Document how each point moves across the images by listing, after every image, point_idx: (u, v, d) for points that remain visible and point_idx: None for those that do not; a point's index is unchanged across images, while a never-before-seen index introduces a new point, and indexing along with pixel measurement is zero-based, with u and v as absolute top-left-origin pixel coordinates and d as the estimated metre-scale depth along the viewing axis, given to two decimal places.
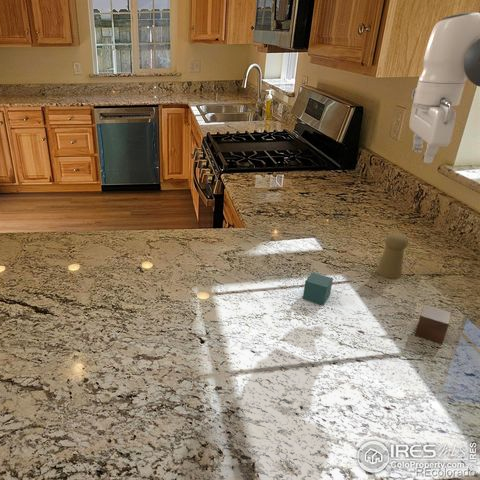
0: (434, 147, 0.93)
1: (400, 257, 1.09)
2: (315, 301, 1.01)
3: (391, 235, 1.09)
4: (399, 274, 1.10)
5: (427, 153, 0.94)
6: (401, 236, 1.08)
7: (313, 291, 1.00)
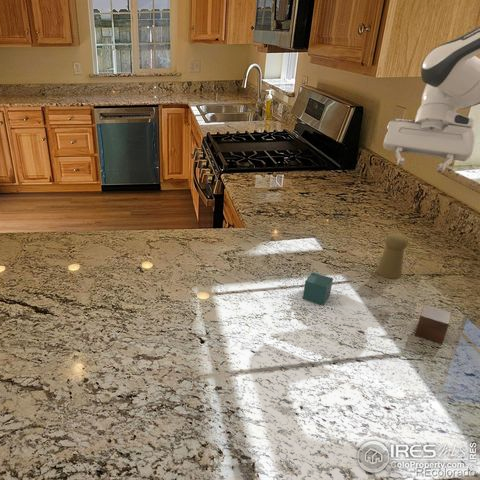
0: None
1: (400, 257, 1.09)
2: (315, 301, 1.01)
3: (391, 235, 1.09)
4: (399, 274, 1.10)
5: None
6: (401, 236, 1.08)
7: (313, 291, 1.00)
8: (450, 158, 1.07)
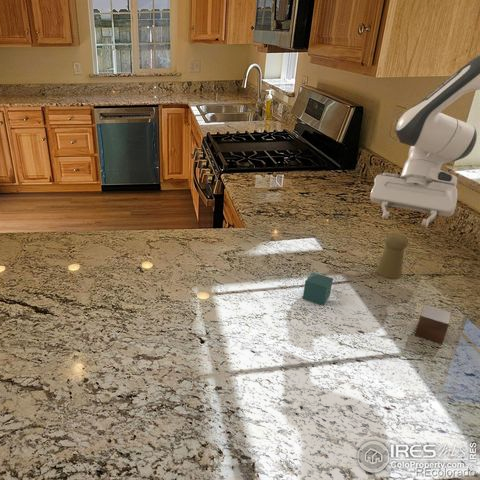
0: None
1: (400, 257, 1.09)
2: (315, 301, 1.01)
3: (391, 235, 1.09)
4: (399, 274, 1.10)
5: None
6: (401, 236, 1.08)
7: (313, 291, 1.00)
8: (433, 214, 1.10)
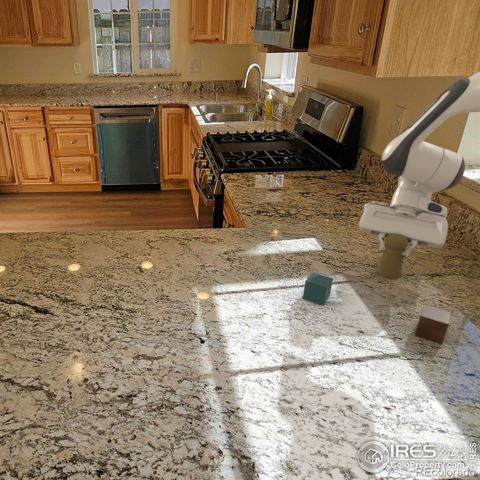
0: None
1: (400, 257, 1.09)
2: (315, 301, 1.01)
3: (391, 235, 1.09)
4: (399, 274, 1.10)
5: (380, 243, 1.13)
6: (401, 236, 1.08)
7: (313, 291, 1.00)
8: (414, 244, 1.08)
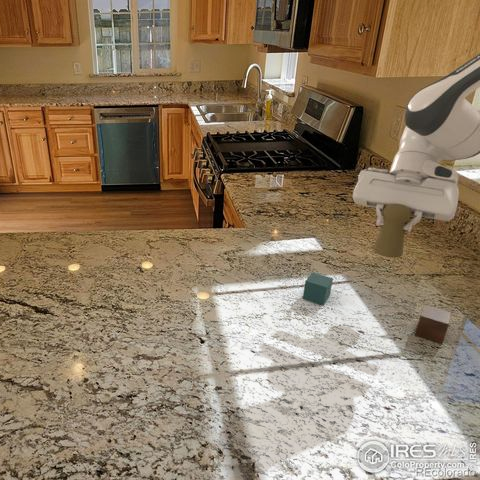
0: (376, 208, 0.95)
1: (402, 232, 0.91)
2: (315, 301, 1.01)
3: (390, 205, 0.91)
4: (400, 252, 0.93)
5: (377, 216, 0.95)
6: (402, 206, 0.90)
7: (313, 291, 1.00)
8: (418, 216, 0.90)
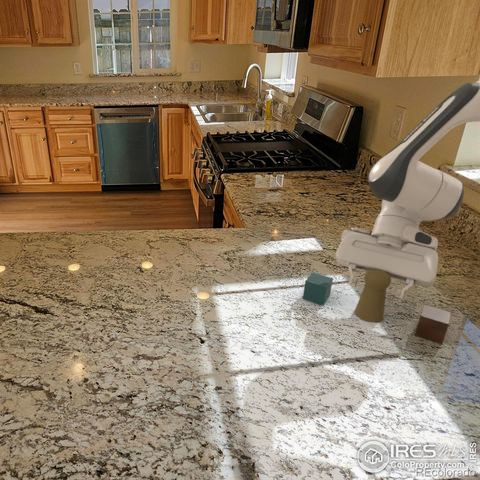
0: None
1: (382, 298, 0.92)
2: (315, 301, 1.01)
3: (371, 271, 0.92)
4: (381, 317, 0.94)
5: (350, 275, 0.97)
6: (383, 273, 0.91)
7: (313, 291, 1.00)
8: (409, 284, 0.90)
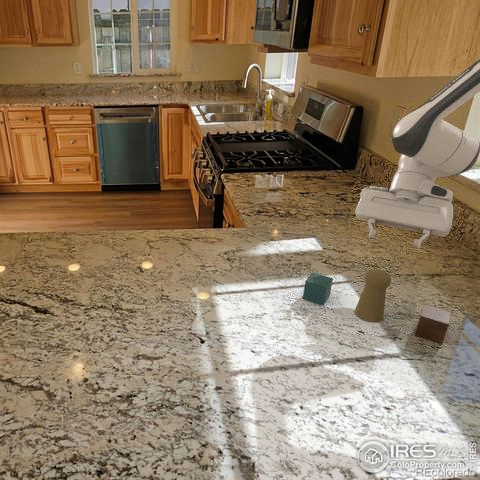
0: (368, 222, 1.04)
1: (382, 298, 0.92)
2: (315, 301, 1.01)
3: (371, 271, 0.92)
4: (381, 317, 0.94)
5: (369, 229, 1.04)
6: (383, 273, 0.91)
7: (313, 291, 1.00)
8: (426, 234, 0.96)
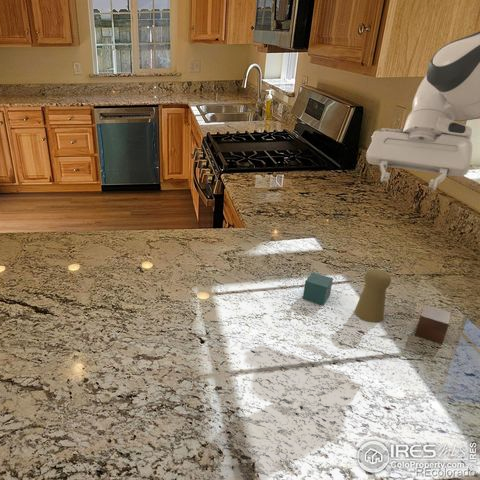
0: (380, 165, 0.98)
1: (382, 298, 0.92)
2: (315, 301, 1.01)
3: (371, 271, 0.92)
4: (381, 317, 0.94)
5: (381, 173, 0.98)
6: (383, 273, 0.91)
7: (313, 291, 1.00)
8: (443, 173, 0.90)
